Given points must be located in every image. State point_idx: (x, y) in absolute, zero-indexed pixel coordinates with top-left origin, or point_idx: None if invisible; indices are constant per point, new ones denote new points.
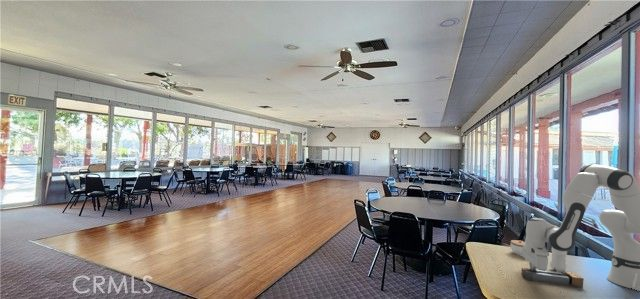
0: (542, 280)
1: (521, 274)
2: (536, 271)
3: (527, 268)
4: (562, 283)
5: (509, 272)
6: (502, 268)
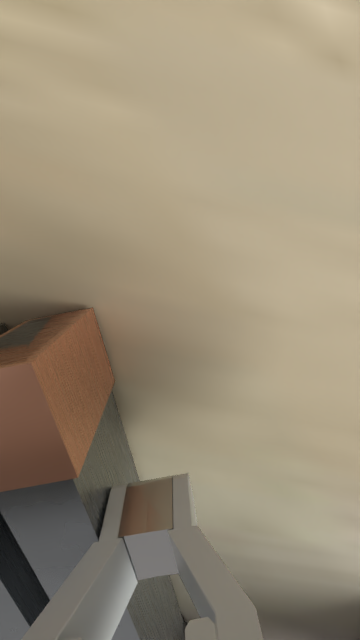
0: None
1: (79, 312)
2: (43, 565)
3: (52, 471)
4: None
5: (106, 131)
6: (255, 20)
